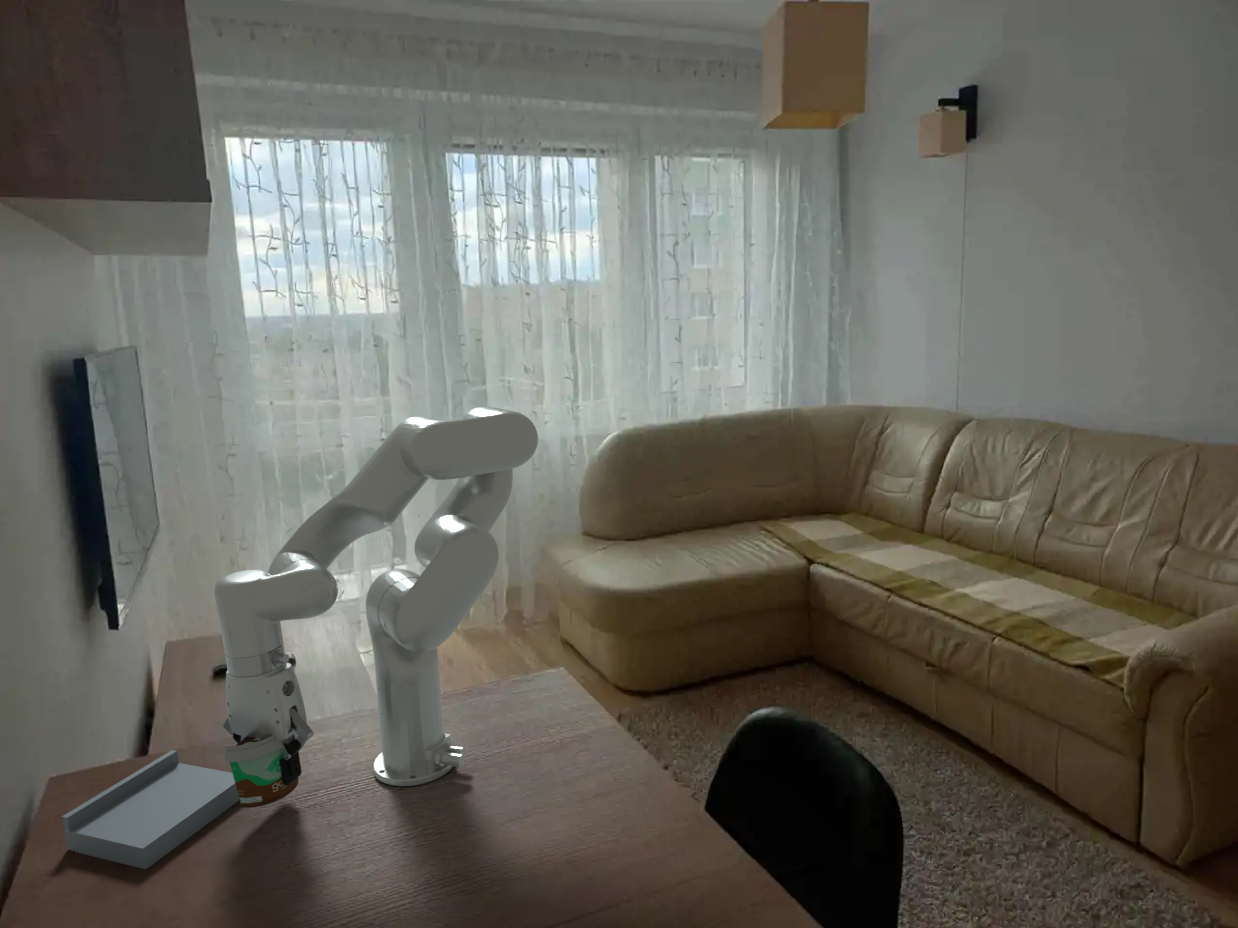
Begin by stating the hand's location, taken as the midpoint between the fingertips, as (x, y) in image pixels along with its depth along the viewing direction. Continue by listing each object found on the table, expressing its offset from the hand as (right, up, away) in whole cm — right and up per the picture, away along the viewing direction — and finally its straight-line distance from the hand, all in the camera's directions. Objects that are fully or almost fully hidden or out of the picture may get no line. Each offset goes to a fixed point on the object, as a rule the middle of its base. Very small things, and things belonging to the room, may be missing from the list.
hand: (275, 775), depth 120 cm
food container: (+1, -2, 0) cm, 2 cm away
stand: (-16, -6, -1) cm, 17 cm away
